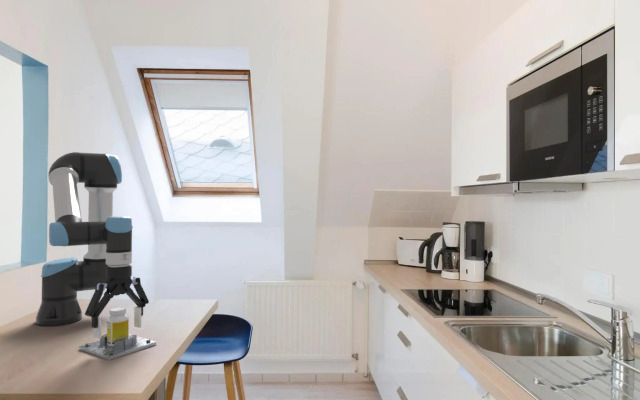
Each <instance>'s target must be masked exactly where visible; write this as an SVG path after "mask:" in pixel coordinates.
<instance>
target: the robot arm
mask: <svg viewBox="0 0 640 400" xmlns="http://www.w3.org/2000/svg"><path fill="white" fill-rule="evenodd" d="M121 165H122V164H121V162H120V160H119V157H118V156H117V155H115V154H110V153H97V152H96V153H92V152H78V151H77V152H76V151H72V152H68V153H65V154H63V155H61V156H60V157H58V158H57V159H56V160H55V161H53V163H52V164H51V165H50V167H49V171H48V181H49V184H50V185H51V186H52V195H53V196H52V197H53V208H54V209H53V210H54V221H55V222H50V224H49V225H48V241H49V245H50V246H52V247H72V246H73V247H75V246H76V247H77V246H87V252H86V253H85V254H84V255H83V260H79V261H78V258H77V257H65V258H60V259H55V260H52V261H48V262H46V263H43V266H42V267H41V275H40V277H41V303H40V305H39V308H38V311H37V314H36V316H35V324H36V325H38V326H45V327H53V326H61V325H68V324H72V323H75V322H79V321H80V320H81V319H83V311H82V309H81V306H80V304H79V301H78V292H83V291H85V292H87V291H94V293H93V294H92V296H91V299H90V300H89V304H88V306H87V308H86V310H85V312H84V315H85V316H87V317H91V328H92V329H93V338H95V339H99V340H100V339H101V336H102V316H100V315H101V314H102V312H103V311H104V309H105V308H106V307H107V306H108V303H109V302H110V301H111V300H112V299H113V298H114V296H116V297H117V296H119V295H127V297H129V299H130V300H131V301H132V302H133V303H134V304H135V305H136V306H133V308H134V309H133V311H134V312H133V314H134V315H133V316H134V317H133V321H134V322H133V327H135V328H138V329H140V328H142V317H143V316H144V308H145V307H146V305H147V304H149V303H150V300H149V299H148V296H147V294H146V293H145V290H144V288H143V286H142V283H141V278H140V277H136V276H133V272H132V271H133V266H132V265H131V264H132V263H133V261H132V259H133V257H132V256H133V255H132V254H133V246H132V245H133V222H132V220H133V218H132V217H131V216H128V215H127V216H124V215H123V216H121V215H119V216H116V215H115V216H113V208H114V207H113V203H114V202H113V199H114V192H115V190H117V189H118V185H119V184H122V180H123V173H122V172H123V171H122V166H121ZM79 183H81V184H84V186H83V187H84V188H85V189H86V191H87V192H88V219H87V221H83V220H82V214H81V204H80V198H79V197H80V196H79V192H78V185H77V184H79ZM132 276H133V277H132ZM131 286H133V288H134V290H135V292H136V293H135V292H134V290H133V289H132V287H131ZM104 291H105V292H104Z"/></svg>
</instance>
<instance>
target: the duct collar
mask: <svg viewBox="0 0 640 400" xmlns="http://www.w3.org/2000/svg"><path fill="white" fill-rule="evenodd" d="M156 345H157V341H156V340H152V339H148V338H145V337H141V336H137V334H132V333H129V337H128V338H125V339H119V340H114V347H111V346H108V345H107V333H104V334H103V335H101V339H99V340H96V341H93V342H90V343H89V342H88V343H85V344H83V345H80V346H78V347H79V351H82V352H85V353H88V354H91V355H94V356H97V357H100V358H101V359H104V360H107V361H112V360H113V359H114V360H115V359H117V358H120V357H123V356H126V355H129V354H132V353H136V352H138V351H141V350H145V349H147V348H150V347H154V346H156Z"/></svg>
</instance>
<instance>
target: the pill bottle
mask: <svg viewBox="0 0 640 400" xmlns="http://www.w3.org/2000/svg"><path fill="white" fill-rule="evenodd" d="M126 313H127V308H126V307H114V308H110V309H109V315H110V316H109V317H108V318H107V319H106V334H107V345H108V346H111V347H114V340H119V339H125V338H128V337H129V334H130V333H129V332H130V331H129V325H130V324H129V321H130V320H129V318H130V317H129V316H128V315H127V314H126Z"/></svg>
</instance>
